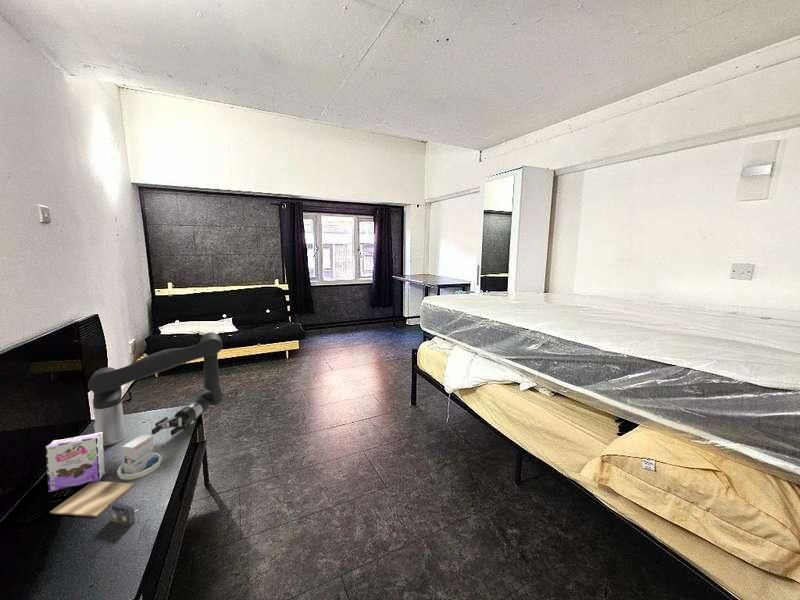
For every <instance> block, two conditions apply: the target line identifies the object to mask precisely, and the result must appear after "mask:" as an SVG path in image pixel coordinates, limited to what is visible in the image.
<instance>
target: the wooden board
mask: <svg viewBox="0 0 800 600" xmlns="http://www.w3.org/2000/svg"><path fill="white" fill-rule="evenodd" d="M134 486H136V485H135V483H132V482H128V483H127V482H117V481H116V482H113V481H102V480H99V481H95V482H91V483H87V485H86V486H84V487H83V488H81V489H80V490H78V491H77V492H76V493H74V494H73V495H72V496H69V498H67V499H65V500H64V501H63V502H61V503H60V504H58V505H57V506H56V507H54V508H52V510H50V511H49V514H50V515H51V514H54V515H67V516H68V515H70V516H81V517H82V516H83V517H92V518H93V517H95V518H96V517H98V516H99V515H101V514H102V512H104V511H105V510H107V508H108V509H109V505H108V504H110V503H111V502H116V501H117V500H119V499H120V498H122V496H124V495H125V494H126V493H127V492H128V491H129V490H131V489H132V488H134Z"/></svg>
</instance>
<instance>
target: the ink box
mask: <svg viewBox="0 0 800 600" xmlns="http://www.w3.org/2000/svg"><path fill="white" fill-rule="evenodd" d="M121 447H122V448H121V451H122V461H123V463H124V469H123V471H124V474H134V473H138V472H142V471H144V470H146V469H147V468H148V467H149V466H150V465H152V464H155V463H156V462H155V460H156V458H155V457H154V453H155V448H154V447H155V446H154V437H153V435H152V434H151V435H150V434H146V433H145V434H141V435H140V436H137V437H136V438H134V439H132V440H131V441H129V442H127V443H125V444H124V445H122V446H121Z"/></svg>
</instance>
